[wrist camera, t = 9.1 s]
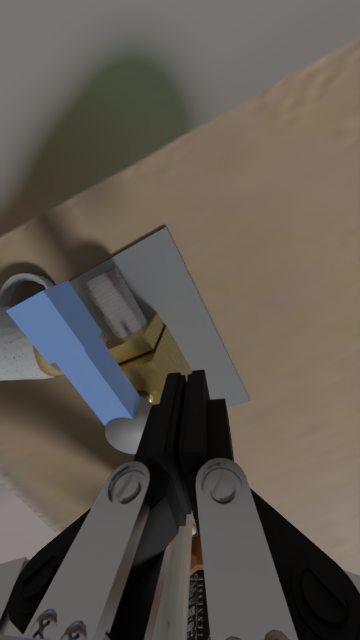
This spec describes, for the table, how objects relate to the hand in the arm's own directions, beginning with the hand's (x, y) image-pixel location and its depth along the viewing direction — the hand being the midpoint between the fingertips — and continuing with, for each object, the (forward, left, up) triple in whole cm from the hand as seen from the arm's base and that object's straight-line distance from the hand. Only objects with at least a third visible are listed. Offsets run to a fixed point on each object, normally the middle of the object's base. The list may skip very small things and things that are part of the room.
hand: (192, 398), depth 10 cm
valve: (-3, +7, -14) cm, 16 cm away
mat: (-3, +6, -14) cm, 15 cm away
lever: (+1, +7, -5) cm, 9 cm away
